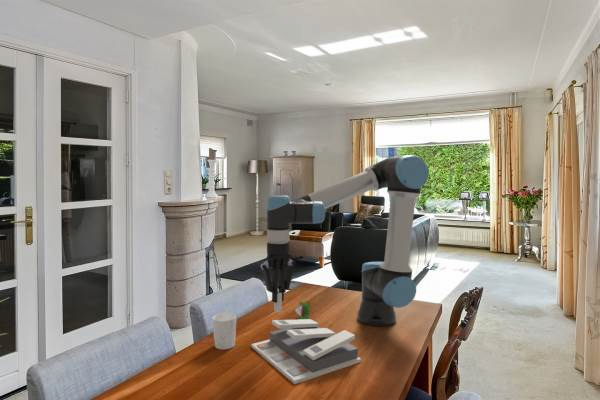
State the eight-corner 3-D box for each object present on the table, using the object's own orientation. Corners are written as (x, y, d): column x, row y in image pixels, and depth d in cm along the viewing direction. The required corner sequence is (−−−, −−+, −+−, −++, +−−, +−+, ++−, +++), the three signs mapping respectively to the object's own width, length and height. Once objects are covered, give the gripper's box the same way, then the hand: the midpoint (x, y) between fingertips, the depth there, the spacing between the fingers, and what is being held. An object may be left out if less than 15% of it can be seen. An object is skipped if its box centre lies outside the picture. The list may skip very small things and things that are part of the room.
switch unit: (310, 331, 144) (310, 321, 144) (361, 361, 121) (361, 349, 120) (251, 347, 132) (251, 335, 131) (294, 384, 108) (294, 370, 108)
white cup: (231, 351, 128) (231, 321, 128) (209, 349, 130) (208, 320, 129) (240, 341, 136) (239, 313, 135) (218, 339, 138) (218, 311, 137)
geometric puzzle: (300, 308, 163) (296, 297, 158) (316, 310, 161) (312, 298, 156) (296, 323, 158) (291, 312, 153) (312, 325, 156) (308, 314, 151)
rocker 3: (345, 333, 125) (344, 329, 125) (355, 338, 121) (354, 334, 121) (303, 353, 117) (303, 349, 117) (313, 360, 113) (312, 356, 113)
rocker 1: (310, 322, 142) (310, 318, 142) (317, 326, 138) (318, 323, 138) (271, 323, 134) (272, 320, 134) (278, 328, 129) (279, 324, 129)
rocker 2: (326, 331, 134) (326, 327, 134) (335, 336, 129) (335, 332, 129) (286, 333, 125) (286, 329, 125) (294, 339, 121) (295, 335, 121)
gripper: (289, 238, 137) (288, 304, 138) (255, 241, 130) (255, 311, 132) (300, 241, 131) (300, 311, 132) (265, 245, 124) (265, 318, 125)
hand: (277, 311), depth 132 cm, fingers closed
